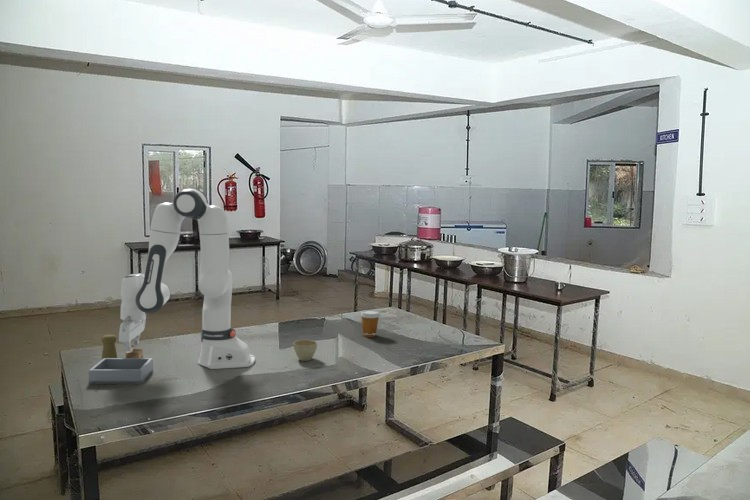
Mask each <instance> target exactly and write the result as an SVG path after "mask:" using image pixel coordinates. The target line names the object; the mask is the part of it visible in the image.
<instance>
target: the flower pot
mask: <svg viewBox="0 0 750 500" xmlns="http://www.w3.org/2000/svg"><path fill="white" fill-rule="evenodd" d="M317 347H318V342H317V341H316V340H313V339H312V340H311V339H299V340H295V341H294V342H293V349H294V351H295V355H296V356H297V358H298V360H300V361H302V362H303V361H304V362H306V361H307V362H308V361H311V360H312V358H313V357H314V355H315V354H316V350H317Z"/></svg>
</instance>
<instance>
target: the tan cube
mask: <svg viewBox="0 0 750 500" xmlns="http://www.w3.org/2000/svg"><path fill="white" fill-rule="evenodd" d="M125 358H144V349H143V348H131V350H130V351H129V352H126V351H125Z"/></svg>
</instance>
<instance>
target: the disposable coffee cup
mask: <svg viewBox="0 0 750 500" xmlns="http://www.w3.org/2000/svg"><path fill="white" fill-rule="evenodd" d="M380 315H381V314H380V311H378V310H374V309H363V310H361V313H360V317H361V326H362V336H363V337H365V338H375V337H374V335H364V334H363V333H368V334H372V333H376V334H377V330H378V324H379V317H380Z"/></svg>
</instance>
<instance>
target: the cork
mask: <svg viewBox="0 0 750 500" xmlns="http://www.w3.org/2000/svg"><path fill="white" fill-rule="evenodd" d="M116 341H117V336H116V335H114V334H106V335H103V336H102V338H101V342H102V344H103V346H102V353H101V360H102V359H104V358H118V354H117V349H116Z"/></svg>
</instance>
